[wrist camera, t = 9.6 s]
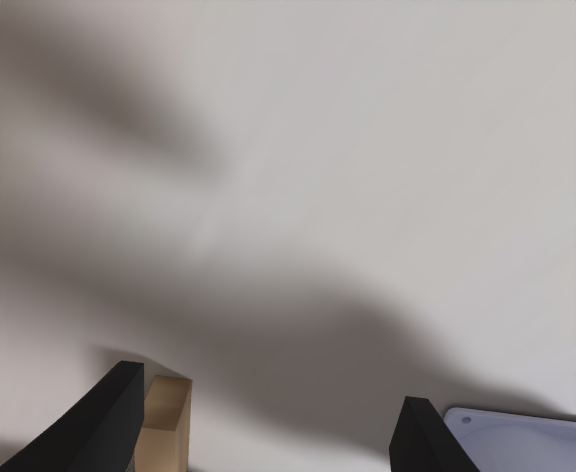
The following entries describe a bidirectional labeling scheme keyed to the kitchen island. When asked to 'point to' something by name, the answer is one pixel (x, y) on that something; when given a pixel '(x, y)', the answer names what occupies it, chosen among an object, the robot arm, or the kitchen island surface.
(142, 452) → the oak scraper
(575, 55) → the kitchen island surface
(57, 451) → the robot arm
